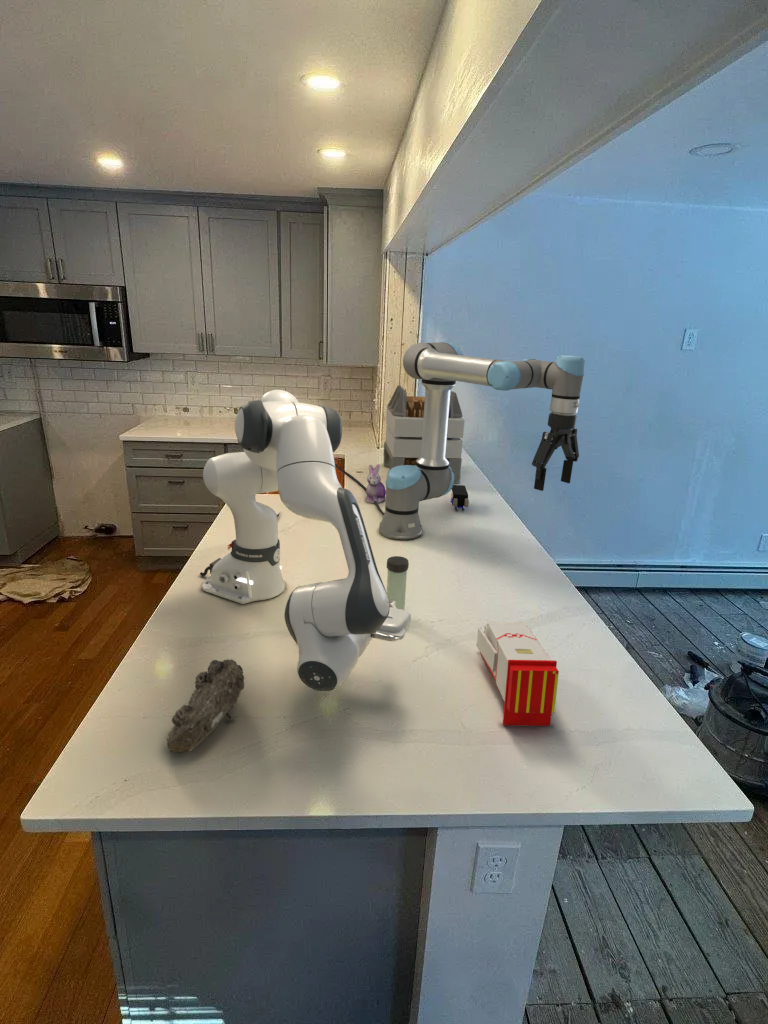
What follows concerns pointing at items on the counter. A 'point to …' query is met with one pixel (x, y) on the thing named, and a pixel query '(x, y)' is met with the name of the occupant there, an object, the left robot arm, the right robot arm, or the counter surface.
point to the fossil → (206, 705)
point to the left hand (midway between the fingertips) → (371, 599)
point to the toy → (520, 672)
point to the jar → (397, 588)
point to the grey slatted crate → (419, 431)
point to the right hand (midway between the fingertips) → (552, 485)
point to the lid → (397, 564)
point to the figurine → (375, 486)
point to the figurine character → (459, 497)
